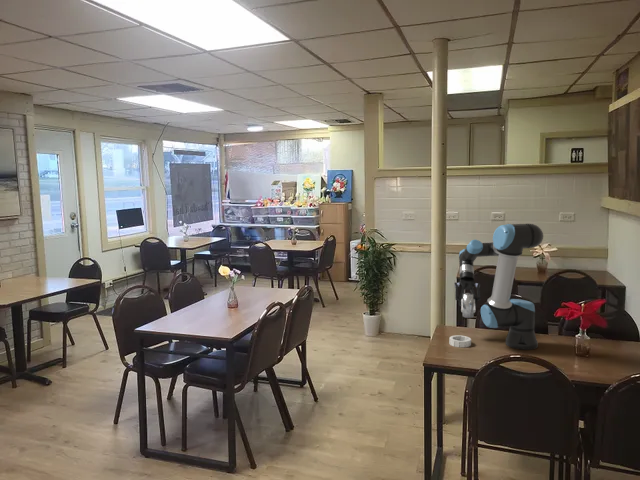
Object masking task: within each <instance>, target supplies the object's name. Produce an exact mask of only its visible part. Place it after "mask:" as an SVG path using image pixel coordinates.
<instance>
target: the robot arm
mask: <svg viewBox="0 0 640 480" xmlns="http://www.w3.org/2000/svg"><path fill="white" fill-rule="evenodd" d="M543 240H544V231H543V230H542V229H541V227H539V226H538V225H536V224H534V223H515V224H514V223H512V224H511V223H507V224H502V225H499V226H497V227H496V229H495V230H494V232H493V235H492V242H482V241H480V240H478V239H472V240H470V241H469V243H467V245H466V247H465V248H463V249H461V250H460V251H459V255H458V261H459V281H458V282H454V288H455V301H458V306H459V307H461V309H460V311H461V313H463V293H465V291H466V290H469V291H470V293H472V294H473V314H475V313H476V307H478V301H479V302H480V301H481V297H482V296H481V289H480V287H481V283H480V282H478V283H477V282H476V281H475V268H474V262H475V261H476V259H477V258H479V257H497V264H496V269H495V274H494V279H493V285H492V286H493V287H492V291H491V296H490V297H489V298H487V300H486V301H487V302H486V304H483V305H482V306H481V307H480V315H481V321H482V322H483V324H484V325H485V326H486V327H487V328H490V329H492V328H493V329H497V328H507V327H509V330H508V333H507V335H506V338H505V345H506V346H507V347H510V348H512V349H517V350H525V351H527V350H530V351H531V350H535V349H537V348H538V347H539V346H538V345H539V343H538V340H537V337H536V336H537V335H536V332H535V317H536V315H535V313H536V308H535V304H534V303H533V302H532V301H528V300H525V299H521V298H518V299H517V298H511V293H512V291H513V290H512V289H513V285H514V281H515V280H514V279H515V275H516V274H515V273H516V269H517V263H518V259H519V257H520V256H522V255H523V251H524V249H532V248H536V247H538V246H539V245H540V244H541V243H542V242H543ZM459 287H461V291H460V294H459ZM474 287H475V288H476V292H475V290H474ZM476 293H477V295H476Z"/></svg>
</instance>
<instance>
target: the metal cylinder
mask: <svg viewBox="0 0 640 480" xmlns="http://www.w3.org/2000/svg"><path fill="white" fill-rule="evenodd" d="M462 299H463V312H462V317H463V318H466V319H467V318H474V310H473V299H474V298H473V294H472V293H471V292H464V293H463V296H462Z"/></svg>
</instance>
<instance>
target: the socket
mask: <svg viewBox="0 0 640 480" xmlns="http://www.w3.org/2000/svg"><path fill="white" fill-rule="evenodd" d="M449 345H450V346H452V347H455V348H469V347H471V346H472V338H471V337H469V336H468V335H467V336H465V335H458V334H457V335H451V336H449Z"/></svg>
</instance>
